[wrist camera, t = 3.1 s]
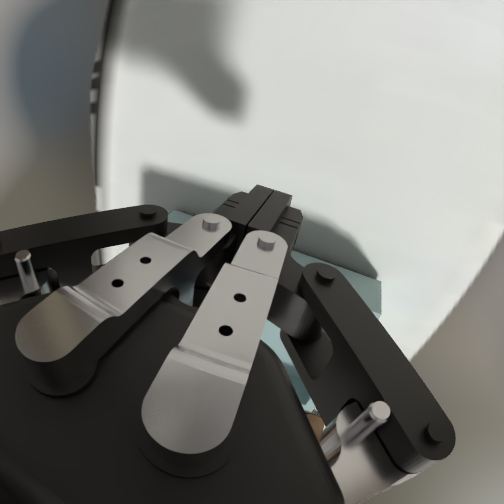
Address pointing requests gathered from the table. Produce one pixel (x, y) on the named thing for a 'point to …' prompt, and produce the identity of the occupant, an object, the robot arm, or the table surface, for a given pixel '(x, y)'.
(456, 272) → the table surface
